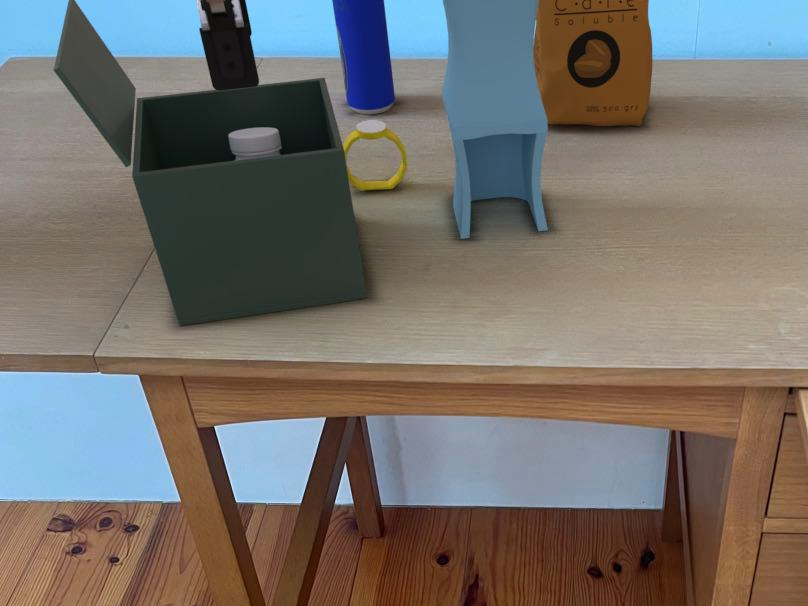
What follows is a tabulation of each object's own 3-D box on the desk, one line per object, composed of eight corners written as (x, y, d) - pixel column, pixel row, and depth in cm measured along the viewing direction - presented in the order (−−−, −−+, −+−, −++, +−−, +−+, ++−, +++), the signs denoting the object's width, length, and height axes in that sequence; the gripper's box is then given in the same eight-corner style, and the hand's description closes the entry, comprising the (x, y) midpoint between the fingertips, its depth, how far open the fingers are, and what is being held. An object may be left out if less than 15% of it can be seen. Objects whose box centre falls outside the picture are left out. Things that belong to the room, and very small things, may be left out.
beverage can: (357, 94, 111) (335, -58, 100) (401, 98, 110) (385, -55, 100) (341, 114, 108) (317, -42, 97) (387, 117, 107) (368, -39, 96)
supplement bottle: (321, 250, 85) (300, 129, 80) (265, 266, 82) (240, 142, 77) (287, 238, 89) (265, 122, 83) (232, 254, 86) (206, 134, 80)
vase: (533, 189, 95) (529, -46, 81) (548, 230, 90) (546, -14, 75) (450, 197, 94) (431, -40, 80) (460, 238, 89) (442, -7, 75)
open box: (179, 326, 80) (131, 175, 71) (178, 240, 89) (136, 98, 80) (367, 298, 82) (344, 150, 73) (347, 217, 92) (324, 77, 83)
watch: (347, 197, 95) (337, 135, 90) (345, 184, 96) (335, 122, 92) (410, 191, 95) (403, 129, 91) (407, 178, 97) (400, 116, 93)
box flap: (130, 165, 71) (126, 167, 71) (135, 88, 80) (131, 90, 80) (58, 67, 65) (53, 70, 65) (73, -3, 75) (68, 0, 75)
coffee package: (649, 136, 103) (666, -113, 87) (528, 136, 103) (523, -113, 88) (647, 97, 110) (661, -141, 94) (533, 96, 110) (529, -141, 95)
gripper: (113, -248, 67) (181, 25, 79) (100, -197, 55) (182, 115, 68) (228, -254, 68) (277, 16, 80) (239, -205, 56) (295, 102, 69)
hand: (233, 61), depth 74 cm, fingers open, 9 cm apart
